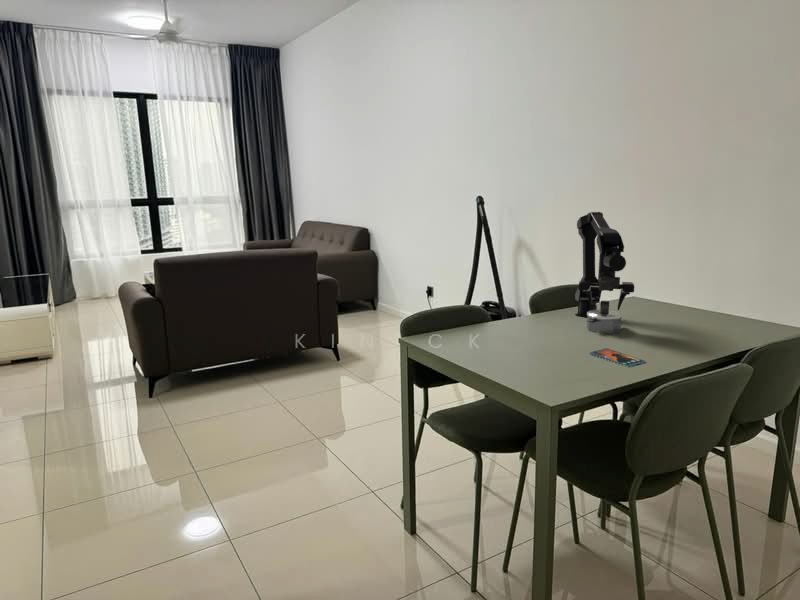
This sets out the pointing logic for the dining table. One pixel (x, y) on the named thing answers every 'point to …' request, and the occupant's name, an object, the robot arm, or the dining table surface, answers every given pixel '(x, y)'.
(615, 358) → the smartphone
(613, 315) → the lid
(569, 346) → the dining table surface
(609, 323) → the pot
